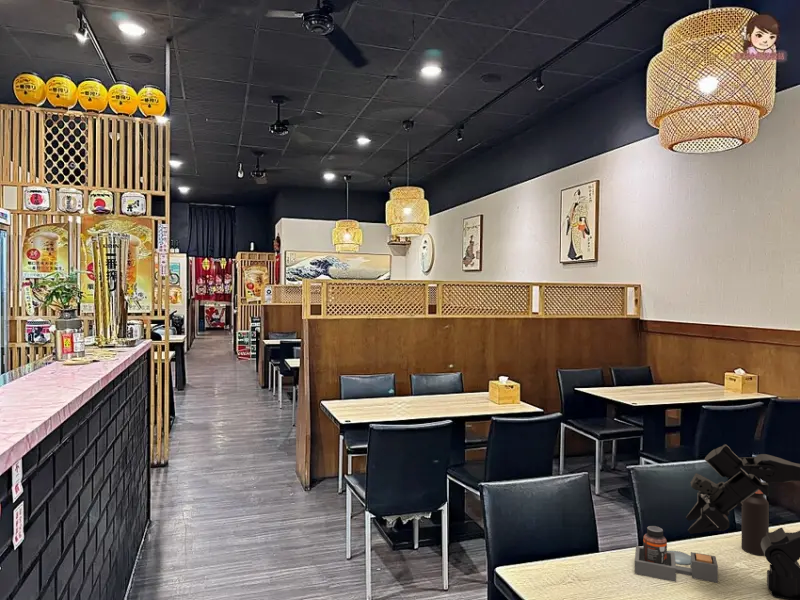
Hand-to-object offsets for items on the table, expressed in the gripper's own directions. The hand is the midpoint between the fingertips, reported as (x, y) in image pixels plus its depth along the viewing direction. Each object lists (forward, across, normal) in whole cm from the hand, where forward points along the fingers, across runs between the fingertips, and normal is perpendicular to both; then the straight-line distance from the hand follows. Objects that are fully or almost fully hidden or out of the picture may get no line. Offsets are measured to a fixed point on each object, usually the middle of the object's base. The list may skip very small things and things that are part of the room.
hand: (688, 525), depth 149 cm
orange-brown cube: (+6, -2, +12) cm, 14 cm away
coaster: (+11, -10, +8) cm, 17 cm away
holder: (+12, 0, +7) cm, 14 cm away
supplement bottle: (+16, 0, +4) cm, 16 cm away
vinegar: (-4, -25, +23) cm, 34 cm away
